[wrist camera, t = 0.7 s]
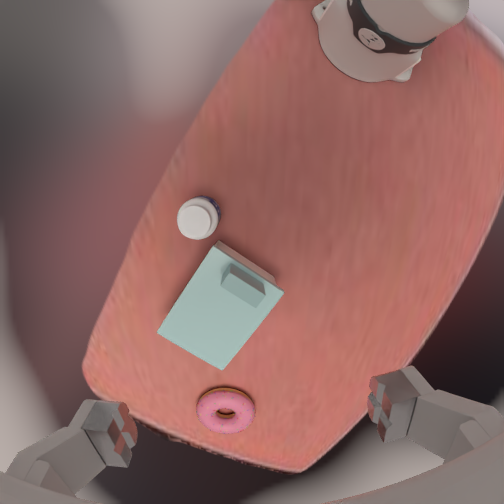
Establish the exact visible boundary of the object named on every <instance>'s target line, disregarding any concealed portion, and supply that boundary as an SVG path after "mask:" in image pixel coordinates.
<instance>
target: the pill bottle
mask: <svg viewBox="0 0 504 504" xmlns="http://www.w3.org/2000/svg"><path fill="white" fill-rule="evenodd" d="M220 217H221V211H220V207H219V205H218V204H217V202H216V201H215V200H214V199H212V198H210V197H208V196H197V197H195V198H192V199H190V200H188V201H187V202H185V203H184V204H183V205H182V206H181V208H180V209H179V212H178V215H177V224H178V227H179V230H180V231H181V233H182V234H183V235H184V236H186V237H188V238H191V239H195V240H200V239H204V238H207V237H208V236H210V235H211V234H212V233H213V232H214V231H215V229H216V227H217V225H218V223H219V221H220Z"/></svg>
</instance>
